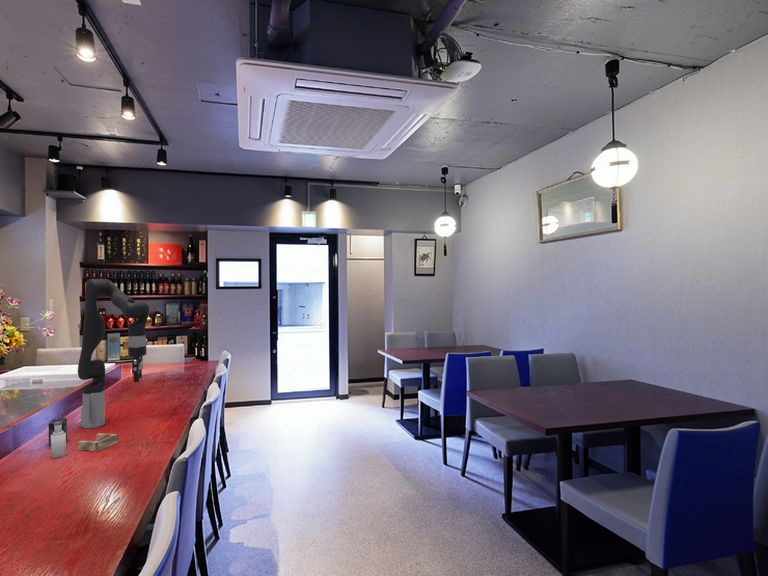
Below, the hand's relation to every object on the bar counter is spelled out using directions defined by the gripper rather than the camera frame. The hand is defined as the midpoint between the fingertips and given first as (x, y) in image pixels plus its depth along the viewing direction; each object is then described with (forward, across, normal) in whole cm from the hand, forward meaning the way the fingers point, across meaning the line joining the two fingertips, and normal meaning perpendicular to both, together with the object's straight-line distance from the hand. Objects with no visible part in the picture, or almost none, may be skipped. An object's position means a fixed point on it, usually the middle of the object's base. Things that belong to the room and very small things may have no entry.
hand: (137, 380), depth 207 cm
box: (+27, -5, -33) cm, 43 cm away
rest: (+26, +7, -15) cm, 31 cm away
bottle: (+26, +13, -28) cm, 40 cm away
